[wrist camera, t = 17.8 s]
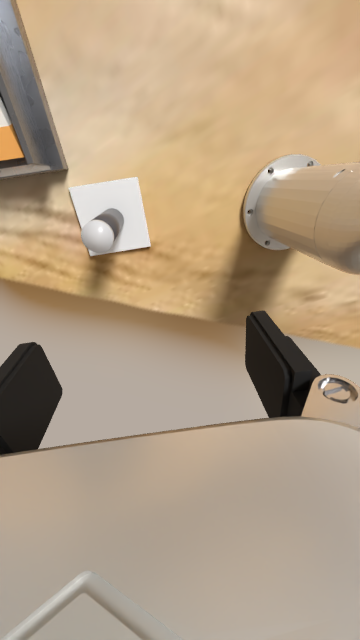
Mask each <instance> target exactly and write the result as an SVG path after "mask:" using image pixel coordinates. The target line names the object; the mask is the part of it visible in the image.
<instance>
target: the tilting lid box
mask: <svg viewBox="0 0 360 640" xmlns="http://www.w3.org/2000/svg"><path fill="white" fill-rule="evenodd" d="M0 98H1V100H2V102H3V104H4V106H5V109H6V111H7V113H8V115H9V117H10V119H11V121H12V123H13V126H14V129H15V131H16V134H17V137H18V139H19V142H20V145H21V147H22V150H23V152H24V155H25V157H22V158H15V159H9V160H2V161H0V180H2V179H9V178H15V177H22V176H28V175H35V174H41V173H48V172H54V171H61V170H67V169H68V166H67V163H66V160H65V157H64V154H63V150H62V147H61V144H60V141H59V138H58V134H57V131H56V128H55V125H54V122H53V118H52V115H51V112H50V109H49V105H48V102H47V99H46V96H45V93H44V89H43V86H42V83H41V80H40V77H39V73H38V70H37V67H36V64H35V61H34V57H33V54H32V51H31V48H30V45H29V41H28V38H27V35H26V32H25V28H24V25H23V22H22V19H21V16H20V12H19V9H18V6H17V3H16V0H0Z"/></svg>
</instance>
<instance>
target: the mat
mask: <svg viewBox="0 0 360 640" xmlns="http://www.w3.org/2000/svg"><path fill="white" fill-rule="evenodd" d="M69 191H70V194H71V197H72V200H73V204H74V207H75V210H76V213H77V216H78V219H79V222H80V225H81V228H83V227H84V225H85V224H87V223H88V222H89V221H91V220H92V219H94V218H95V217H97V216H98V215H100V214H101V213H102V212H104V211H105V210H107V209H109V208H114V209H117V210H118V211H120V212H121V214H122V215H123V218H124V225H123V227H122V229H121V230H120V232H119V234H118V236H117V237H116V239H115V241H114V243H113V244H112V246H111V248H110V249H109V250H107V251H106V252H103V253H96V252H93V251H91V250H89V249H88V250H89V253H90V256H95V255H101V254H107V253H113V252H119V251H125V250H131V249H137V248H143V247H149V246H151V244H150V239H149V234H148V228H147V223H146V218H145V213H144V208H143V202H142V197H141V192H140V187H139V182H138V177H133V178H127V179H120V180H114V181H108V182H101V183H95V184H88V185H82V186H76V187H69Z"/></svg>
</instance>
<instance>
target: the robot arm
mask: <svg viewBox="0 0 360 640" xmlns="http://www.w3.org/2000/svg"><path fill="white" fill-rule="evenodd" d="M307 164H308V166H307ZM268 169H269V173H268V172H267V171H268ZM248 210H250V212H249V213H247V212H248ZM243 219H244V224H245V227H246V230H247V232H248V234H249V235H250V237H251V238H252V239H253V240H254V241H255V242H256V243H258V244H259V245H261V246H263V247H264V248H267V249H271V250H284V249H289V248H293V249H295V250H297V251H299V252H301V253H303V254H305V255H307V256H309V257H312V258H314V259H316V260H318V261H320V262H322V263H324V264H327V265H329V266H331V267H333V268H336V269H338V270H340V271H343V272H346V273H350V274H355V275H360V162H353V163H342V164H331V165H321V164H320V163H318V162H317V161H316V160H315V159H313V158H311V157H309V156H306V155H302V154H291V155H286V156H282V157H280V158H277V159H275V160H273V161H272V162H270V163H269V164H267V165H266V166H265V167H264V168H263V169H261V170H260V171H259V173H258V174H257V175H256V176H255V178H254V179H253V181H252V182H251V184H250V186H249V188H248V191H247V193H246V196H245V200H244V205H243ZM265 241H266V243H265ZM245 364H246V369H247V371H248V373H249V375H250V377H251V380H252V382H253V384H254V386H255V388H256V391H257V392H258V395H259V397H260V399H261V401H262V404H263V406H264V408H265V410H266V412H267V414H268V416H269V418H264V419H254V420H246V421H238V422H229V423H221V424H214V425H206V426H199V427H191V428H184V429H177V430H169V431H162V432H155V433H147V434H140V435H134V436H126V437H120V438H112V439H105V440H98V441H91V442H84V443H77V444H71V445H63V446H56V447H50V448H43V449H38V448H39V445H40V443H41V441H42V439H43V436H44V434H45V432H46V430H47V427H48V425H49V423H50V421H51V419H52V416H53V414H54V412H55V410H56V407H57V405H58V403H59V401H60V398H61V396H62V387H61V385H60V383H59V381H58V379H57V377H56V375H55V373H54V371H53V369H52V367H51V365H50V363H49V361H48V359H47V357H46V355H45V353H44V351H43V349H42V347H41V346H40V345H37V344H36V343H35V342H31V343H24V344H20V345H18V346H17V348H16V349H15V350H14V351H13V352H12V354H11V355H10V356H9V357H8V358H7V360H6V361H5V362H4V363H3V364H2V366H1V367H0V640H360V387H359V386H357V385H356V384H355V383H354V382H352V381H351V380H349V379H347V378H344V377H341V376H338V375H332V374H325V375H320V373H319V372H318V371H317V369H316V368H315V367H314V366H313V365H312V363H311V362H310V361H309V360H308V359H307V357H306V356H305V355H304V354H303V352H302V351H301V350H300V349H299V348H298V346H296V344H295V343H294V342H293V341H292V339H291V338H290V337H288V336H285V335H284V334H283V333H282V332H281V330H280V329H279V328H278V327H277V325H276V324H275V323H274V322H273V321H272V319H271V318H270V317H269V316H268V314H267V313H266V312H265V311H257V312H251V314H250V316H247V318H246V354H245Z"/></svg>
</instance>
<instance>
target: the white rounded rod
mask: <svg viewBox="0 0 360 640" xmlns="http://www.w3.org/2000/svg"><path fill="white" fill-rule="evenodd" d="M123 225H124V218H123V215H122V214H121V212H120V211H118V210H117V209H114V208H109V209H107V210H105V211H104V212H102V213H101V214H100V215H98V216H97V217H95V218H94V219H92V220H91V221H89V222H88V223H87V224H85V225H84V227H83V228H82V231H81V238H82V241H83V243H84V245H85V246H86V247H87V248H88V249H89V250H91V251H93V252H96V253H103V252H106V251H107V250H109V249H110V248H111V246H112V244H113V243H114V241H115V239H116V237H117V236H118V234H119V232H120V230H121V229H122V227H123Z"/></svg>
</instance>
